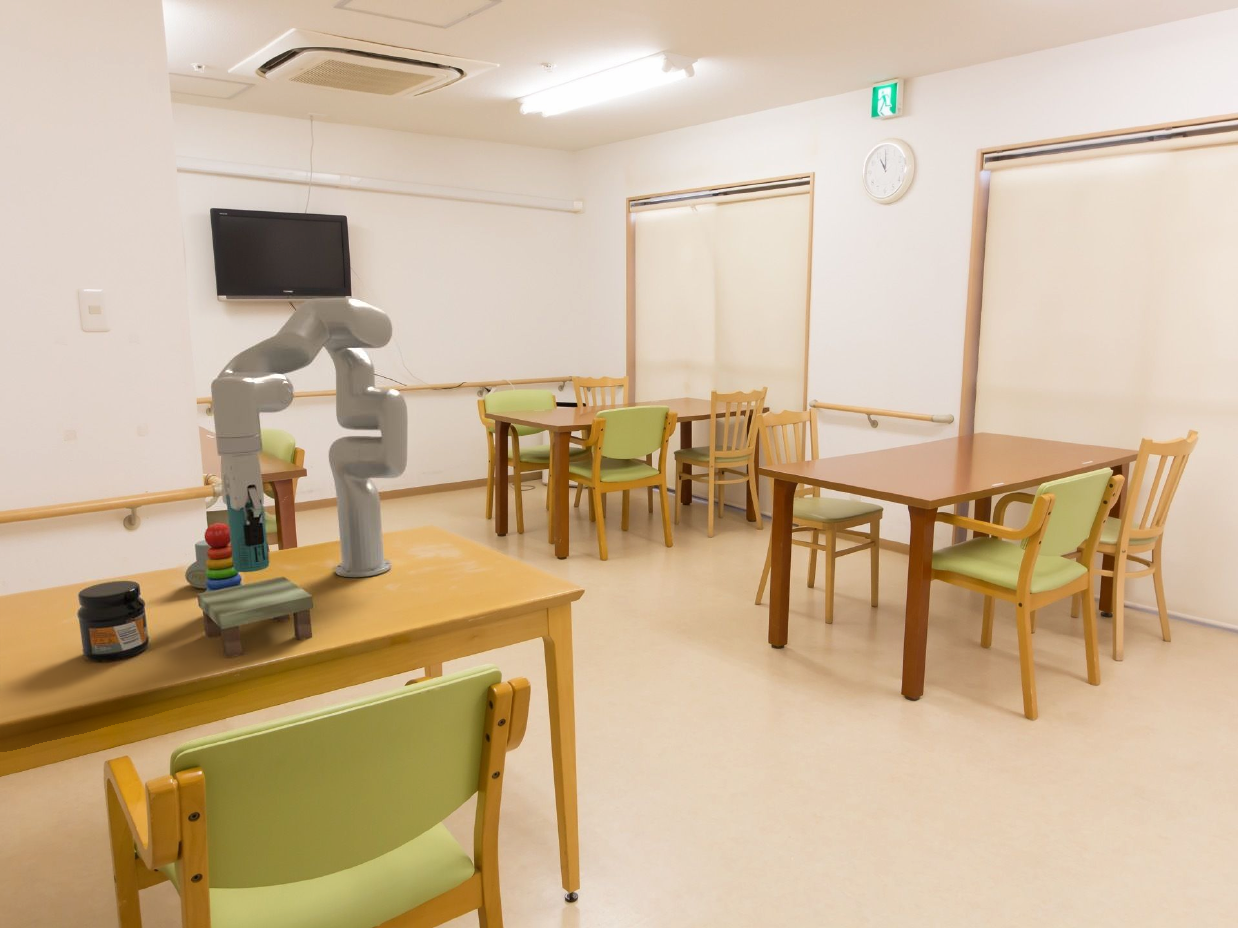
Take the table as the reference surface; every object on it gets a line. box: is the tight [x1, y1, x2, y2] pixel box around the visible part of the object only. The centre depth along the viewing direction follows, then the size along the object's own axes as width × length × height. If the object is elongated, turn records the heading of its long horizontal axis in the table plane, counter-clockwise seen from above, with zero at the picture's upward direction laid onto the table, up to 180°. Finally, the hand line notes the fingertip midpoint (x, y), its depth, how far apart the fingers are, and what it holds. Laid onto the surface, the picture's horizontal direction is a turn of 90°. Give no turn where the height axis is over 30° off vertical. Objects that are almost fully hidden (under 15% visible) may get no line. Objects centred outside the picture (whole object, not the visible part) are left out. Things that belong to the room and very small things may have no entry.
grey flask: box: [184, 539, 240, 590], centre depth 194 cm, size 11×8×10 cm
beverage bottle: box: [226, 494, 271, 573], centre depth 160 cm, size 6×7×20 cm
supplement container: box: [76, 580, 150, 662], centre depth 156 cm, size 10×10×12 cm
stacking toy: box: [204, 522, 244, 592], centre depth 175 cm, size 8×8×19 cm
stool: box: [197, 576, 314, 659], centre depth 163 cm, size 16×16×8 cm
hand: (248, 540), depth 161 cm, fingers closed on beverage bottle, 6 cm apart
